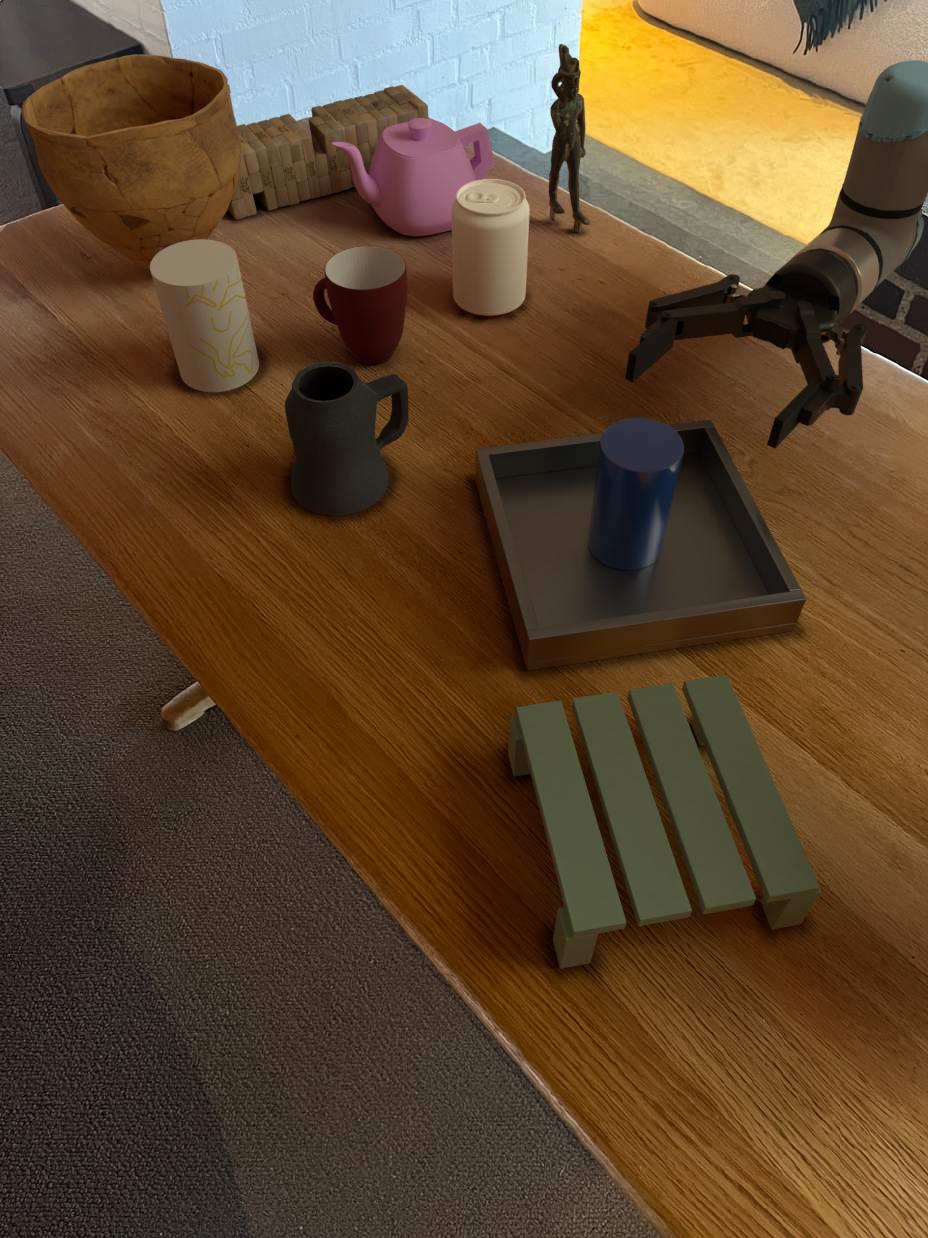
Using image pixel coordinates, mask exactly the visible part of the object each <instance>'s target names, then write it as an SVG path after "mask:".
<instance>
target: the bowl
mask: <svg viewBox="0 0 928 1238" xmlns="http://www.w3.org/2000/svg"><path fill="white" fill-rule="evenodd" d="M231 93H232V91H231V87H230V85H229V79H228V77H227V76H226V74H225V73H224V71H222V70H221V69H219V68H217V67H214V66H211V65H209V64H207V63H204V62H201V61H195V60H191V59H188V58H179V57H170V56H165V55H160V54H159V55H157V54H129V55H123V56H120V57H113V58H109V59H106V60H102V61H98V62H94V63H90V64H86V65H83V66H81V67H79V68H75V69H73V70H71V71H69V72H67V73H66V74H64V75H62V76H61V77H60V78H58V79H55V80H53V81H50V82H49V83H47V84H44V85H43V86H42V87H41V86H40V88H38V89H37V90H36V91H34V92H33V93H32V94H30V95H29V96H28V97H27V98H26V99H25V100H24V101H23V103H22V105H21V115H22V118H23V120H24V123H25V125H26V127H27V129H28V130H29V131H30V134H31V139H32V140H33V143H34V146H35V147H34V148H35V152H36V158H37V162H38V166H39V169H40V171H41V173H42V175H43V178H44V179H45V181H46V183H47V184H48V187H49V188H50V189H51V192H53V194H54V195H55V196H56V197H57V199H58V200H59V201H60V202H61V203H62V204H63V205H64V207H65V208H66V209H67V211H68V212H69V213H70V214H71V215H72V216H73V217H74V218H75V220H76V221H77V222H78V223H79V224H80V225H81V226H82V227H84V228H85V229H86V230H87V231H88V232H90V233H91V234H92V235H93V236H94V237H96V238H97V239H98V240H100V241H101V242H104V243H105V244H106V245H108V246H110V247H111V248H113V249H115V250H116V251H117V252H119V253H120V254H122V255H124V256H125V257H126V258H128V259H129V260H130V261H132V262H133V263H135V264H137V265H139V266H140V267H142V268H145V269H147V270H150V263H151V261H152V259H153V258H154V256H155V255H156V254H157V253H159V252H160V251H161V250H163V249H165V248H166V247H168V246H171V245H173V244H176V243H179V242H183V241H188V240H197V239H206V240H210V237H211V235H212V234H213V232H214V231H215V230H216V228H217V227H218V226H219V223H220V222H221V221H222V220H223V217H224V216H225V215H226V213H227V212H228V211H227V209H228V206H229V204H230V201H231V198H232V196H233V193H234V190H235V187H236V184H237V180H238V176H239V171H240V163H241V139H240V135H239V132H238V128H237V126H238V125H237V122H236V117H235V113H234V109H233V101H232V96H231ZM226 211H227V212H226Z"/></svg>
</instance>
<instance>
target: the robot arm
mask: <svg viewBox="0 0 928 1238" xmlns="http://www.w3.org/2000/svg"><path fill="white" fill-rule="evenodd" d="M857 128H858V129H857V132H856V136H855V139H854V143H853V147H852V150H851V154H850V159H849V162H848V164H847V165H848V166H847V168H846V173H845V176H844V179H843V183H842V185H841V188H840V191H839V193H838V196H837V200H836V203H835V206H834V210H833V213H832V216H831V220H830V221H829V224H828V225H827V226H826V227H825V228H824V229H823V230H822V231H821V232H820V233H819V234H818V235H817V236H816V237H814V238H813V239H812V240H811V241H809V242H808V243H807V244H805V246H803V247H802V248H801V249H800V250H799V251H798V252H796V254H794V256H792V257H791V258H790V259H789V260H788V261H787V262H785V263H784V264H783V265H782V266H781V267H780V268H778V269H777V270H776V271H775V272H774V273H773V274H772V275H771V276H770V278H769V279H768V280H767V281H766V283H765V284H764V285H763V286H761V287H757V288H754V289H752V290H750V289H748V288H745V287H744V286H741V285H739V284H740V281H741V277H740V276H739V275H738V274H734V273H731V274H727V275H726V276H724V277H723V278H721V279H719V280H718V281H717V282H713V283H708V284H705V285H702V286H698V287H695V288H690V289H686V290H683V291H679V292H675V293H672V294H669V295H665V296H661V297H657V298H653V299H651V300H649V301H648V306H647V311H646V318H645V325H644V328H645V330H643V332H641V334H640V338H639V343H638V345H636V346H635V347H634V348H633V349H632V350H630V351H629V352H628V358H627V363H626V371H625V376H624V379H625V380H626V381H627V382H630V383H634V382H635V381H636V380H638V379H639V378H640V377H641V376H642V375H643V374H644V373H645V372H647V371H648V370H649V369H650V368H651V367H652V366H654V365H655V364H656V363H657V362H658V361H660V359H662V358H663V357H664V356H665V355H666V354H668V353H669V352H670V351H671V350H672V349H673V348H674V344H675V341H681V340H689V339H698V338H707V337H715V336H724V335H732V337H734V338H736V339H738V338H747V337H752V338H755V339H757V340H760V341H763V342H768V343H770V344H772V345H773V346H775V347H776V348H779V349H781V350H785V349H790V351H791V353H792V356H793V359H794V361H795V363H796V364H799V366H800V369H801V371H802V375H803V376H804V378H805V382H806V385H805V386H804V388H803V389H802V390H801V391H800V392H799V393H798V394H796V396H795V397H793V399H792V400H791V401H790V402H789V403H788V404H787V405H786V406H785V407H784V408H783V409H782V410H781V411H780V412H779V413H778V414H777V415H776V416H775V417H774V420H773V423H772V427H771V430H770V432H769V437H768V439H767V442H766V446H769V447H770V448H773V449H776V448H778V447H779V445H780V444H781V443H782V442H783V441H784V440H785V439H786V438H787V437H788V436H789V435H790V434H791V433H792V432H793V431H794V430H795V428H796V427H797V426H798V425H799V424H802V425H804V426H806V427H810V426H812V425H814V424H815V423H816V422H817V420H818V419H820V417H821V416H823V414H824V413H825V412H827V411H829V410H830V409H837V410H838V411H839V413H840V414H842V415H844V416H853V415H854V414H855V412H856V408H857V406H858V403H859V401H860V398H861V396H862V392H863V390H864V378H863V377H864V376H863V375H864V373H863V355H862V345H863V342H864V340H865V337H866V334H867V332H868V326H866V325H865V324H863V323H855V324H854V325H853V326H852V327H851V329H849V328H846V327H843V326H840V325H841V324H842V323H843V322H844V321H845V320H846V319H847V318H848V317H849V316H850V314H852V313H853V312H854V311H855V310H856V309H857V308H858V307H859V306H860V304H862V303H863V302H864V300H865V299H866V298H867V297H869V296H870V295H871V294H872V293H873V291H875V289H876V288H877V287H878V286H879V285H880V284H881V283H882V282H883V281H884V280H885V279H887V278H888V276H890V275H891V274H892V273H893V272H895V271H896V270H897V269H898V268H900V267H901V266H902V265H903V263H904V262H906V261H907V260H908V259H909V257H910V256H911V254H912V252H913V251H914V249H915V247H917V246H918V243H919V242H920V240H921V238H922V235H923V232H924V226H925V221H924V216H923V206H924V203H925V201H926V199H927V196H928V61H925V60H919V59H915V60H914V59H913V60H912V59H911V60H904V61H900V62H896V63H893V64H891V65H889V66H888V67H886V68H885V69H883V70H882V71H881V73H879V75H878V76H877V78H876V80H875V81H874V84H873V87H872V88H871V92H870V93H869V95H868V99H867V101H866V104H865V106H864V109H863V112H862V115H861V117H860V118H859V123H858V127H857ZM745 320H746V323H745ZM830 341H832V342H833V343H834V348H835V349H836V352H835V355H837V356H838V357H839V358H838V362H837V369H838V370H837V372H838V374H836V372H835V369H834V367H833V365H832V363H831V360H830V358H829V355H828V353H827V350H826V348H825V346H824V344H826V343H829V342H830Z"/></svg>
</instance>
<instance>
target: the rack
mask: <svg viewBox="0 0 928 1238" xmlns="http://www.w3.org/2000/svg"><path fill="white" fill-rule="evenodd" d="M681 690H682V693H683V695H684V698H685V700H686V703H687V705H688V708H689V710H690V713H691V715H692V721H691V727H692V729H691V727H690V724H689V721H688V719H687V716H686V714H685V711H684V709H683V706H682V703H681V701H680V698H679V696H678V693H677V690H676V687H675V685H674V683H672V682H670V683H665V684H663V683H662V684H657V685H651V686H645V687H638V688H632V689H628V693H627V701H628V704H629V706H630V709H631V712H632V716H633V718H634V721H635V724H636V726H637V729H638V732H639V734H640V738H641V741H642V744H643V747H644V750H645V753H646V756H647V758H648V762H649V764H650V767H651V770H652V773H653V777H654V779H655V781H656V784H657V787H658V790H659V793H660V795H661V799H662V802H663V804H664V808H665V811H666V813H667V817H668V819H669V822H670V825H671V827H672V830H673V833H674V836H675V839H676V841H677V845H678V848H679V851H680V854H681V857H682V859H683V862H684V865H685V868H686V871H687V874H688V877H689V880H690V882H691V885H692V889H693V891H694V893H695V897H696V900H697V902H698V905H699V908H700V911H701V914H702V915H706V914H713V913H718V912H724V911H728V910H735V909H741V908H744V907H745V908H747V907H750V906H751V907H752V906H753V905H754V904H755V902H756V900H757V897H756V893H755V891H754V889H753V886H752V884H751V882H750V878H749V876H748V873H747V871H746V869H745V865H744V863H743V860H742V857H741V856H740V852H739V851H738V847H737V845H736V843H735V840H734V837H733V835H732V832H731V830H730V827H729V825H728V824H729V823H728V822H727V820H726V817H725V814H724V812H723V809H722V807H721V804H720V801H719V799H718V796H717V794H716V791H715V789H714V786H713V784H712V781H711V778H710V776H709V773H708V771H707V768H706V766H705V763H704V760H703V757H702V755H701V752H700V750H699V747H698V745H699V746H700V747H702V746H704V749H705V751H706V754H707V757H708V759H709V761H710V764H711V766H712V769H713V771H714V774H715V777H716V779H717V782H718V784H719V787H720V790H721V792H722V795H723V797H724V799H725V802H726V805H727V808H728V810H729V813H730V815H731V817H732V820H733V822H734V826H735V827H736V830H737V833H738V835H739V838H740V840H741V843H742V845H743V848H744V850H745V853H746V856H747V858H748V860H749V863H750V866H751V868H752V870H753V871H752V872H753V873H754V876H755V878H756V881H757V883H758V886H759V888H760V891H761V894H762V898H761V899H760V904H761V907H762V909H763V913H764V915H765V917H766V920H767V922H768V925H769V927H770V929H771V930H777V929H784V928H789V927H794V926H798V925H801V924H802V923H803V921H804V920H805V918H806V917H807V916H808V914H809V912H810V911H811V909H812V908H813V907H814V905H815V904H816V902H817V901H818V899H819V898H820V897H821V895H822V891H821V886H820V883H819V882H818V879H817V876H816V874H815V873H814V870H813V868H812V865H811V863H810V861H809V859H808V856H807V854H806V852H805V849H804V847H803V845H802V843H801V840H800V838H799V836H798V833H797V831H796V829H795V826H794V824H793V821H792V819H791V817H790V815H789V813H788V811H787V809H786V806H785V803H784V801H783V798H782V797H781V794H780V791H779V790H778V788H777V785H776V783H775V780H774V778H773V776H772V773H771V771H770V768H769V767H768V764H767V762H766V760H765V758H764V755H763V753H762V750H761V748H760V746H759V743H758V741H757V739H756V737H755V734H754V732H753V730H752V727H751V726H750V723H749V720H748V718H747V716H746V714H745V711H744V709H743V707H742V704H741V702H740V700H739V698H738V696H737V693H736V691H735V688H734V686H733V683H732V682H731V679H730V677H729V674H722V675H721V674H720V675H714V676H708V677H702V678H695V679H690V680H684V681H683V685H682V688H681ZM571 701H572V702H571V709H572V712H573V716H574V719H575V723H576V725H577V728H578V732H579V736H580V739H581V741H582V745H583V749H584V752H585V756H586V758H587V762H588V765H589V768H590V772H591V775H592V779H593V782H594V785H595V788H596V792H597V796H598V798H599V801H600V802H599V803H600V806H601V808H602V812H603V815H604V818H605V821H606V826H607V828H608V832H609V835H610V838H611V842H612V845H613V848H614V852H615V855H616V857H617V858H616V859H617V862H618V865H619V869H620V872H621V875H622V878H623V882H624V885H625V887H626V892H627V895H628V899H629V903H630V905H631V908H632V911H633V916H634V918H635V921H636V922H635V923H636V925H637V927H642V926H649V925H653V924H659V923H664V922H670V921H675V920H681V919H686V918H690V917H691V914H692V911H693V909H692V906H691V904H690V900H689V898H688V895H687V891H686V889H685V886H684V885H685V884H684V883H683V879H682V876H681V874H680V871H679V868H678V866H677V865H678V864H677V861H676V858H675V856H674V853H673V851H672V848H671V844H670V841H669V839H668V836H667V833H666V830H665V826H664V823H663V821H662V817H661V816H660V812H659V809H658V806H657V803H656V801H655V798H654V795H653V792H652V788H651V786H650V782H649V780H648V777H647V775H646V772H645V768H644V766H643V762H642V759H641V756H640V753H639V751H638V750H639V749H638V747H637V745H636V741H635V738H634V736H633V733H632V730H631V727H630V724H629V721H628V718H627V715H626V712H625V709H624V706H623V704H622V701H621V698H620V695H619V693H618V691H612V692H605V693H598V694H592V695H584V696H578V697H573V698H572V700H571ZM508 727H509V728H508V747H507V755H508V760H509V763H510V767H511V772H512V777H521V776H525V775H530V777H531V782H532V785H533V789H534V793H535V797H536V801H537V805H538V809H539V813H540V817H541V821H542V825H543V829H544V833H545V836H546V840H547V844H548V848H549V852H550V855H551V859H552V863H553V868H554V871H555V875H556V880H557V883H558V887H559V891H560V895H561V899H562V904H563V906H561V907H558V908H557V911H556V918H555V922H554V923H555V924H554V929H553V935H552V942H553V946H554V951H555V955H556V959H557V963H558V967H559V969H560V970H561V969H567V968H572V967H578V966H583V965H588V964H591V962H592V958H593V955H594V951H595V946H596V943H597V939H598V936H599V934H604V933H608V932H609V933H610V932H616V931H620V930H625V928H626V925H627V920H626V916H625V913H624V909H623V905H622V902H621V899H620V896H619V892H618V889H617V885H616V882H615V879H614V875H613V871H612V868H611V865H610V862H609V861H610V860H609V858H608V855H607V852H606V848H605V845H604V841H603V838H602V834H601V831H600V828H599V824H598V820H597V817H596V814H595V810H594V807H593V804H592V799H591V797H590V794H589V790H588V786H587V784H586V780H585V776H584V772H583V769H582V766H581V762H580V759H579V756H578V752H577V750H576V746H575V742H574V738H573V736H572V733H571V729H570V725H569V722H568V718H567V715H566V711H565V709H564V704H563V702H562V700H553V701H547V702H540V703H534V704H528V705H521V706H516V707H515V715H514V714H513V715H510V716H509V725H508ZM692 730H693V732H694V733H693V732H692ZM693 734H694V735H695V737H694V735H693ZM695 738H696V739H695ZM696 740H697V742H696ZM697 743H698V745H697Z"/></svg>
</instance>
